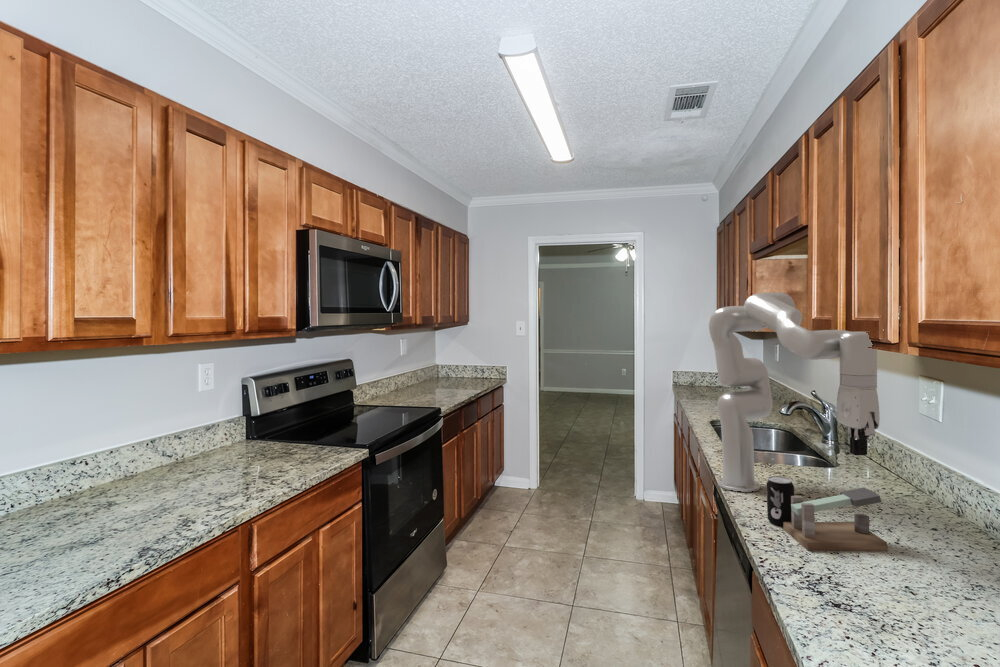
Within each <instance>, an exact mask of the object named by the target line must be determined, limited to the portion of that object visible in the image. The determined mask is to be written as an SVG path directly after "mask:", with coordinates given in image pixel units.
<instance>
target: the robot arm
mask: <svg viewBox="0 0 1000 667" xmlns="http://www.w3.org/2000/svg"><path fill="white" fill-rule="evenodd" d="M802 322H803V314H802V312H801V311H800V310H799V309H798V308H796V304H795V301H794V299H793V298H792V297H791V296H790V295H789V294H787V293H786V292H759V293H758V292H757V293H754V294H752V295H750V296H749V297H747V299H746V300H745V301H744V305H730V306H724V307H720V308H717V309H716V310H714V312H712V314H711V316H710V318H709V322H708V330H709V336H710V338H711V341H712V343H713V347H714V355H715V362H716V368H717V376H718V381H719V382H720V384H721V385H722V386H723V387H726V388H742V387H746V390H737V391H736V390H735V391H729V392H725V393H723V394H721V395H720V397H718V399H717V404H716V406H717V411H718V416H719V421H720V427H721V429H720V430H721V450H722V451H721V452H722V453H721V456H722V458H721V459H722V477H721V478H719V479H718V480H717V484H718V486H719V487H720V488H723V489H724V490H727V491H731V490H733V491H732V492H737V491H741V492H740V493H751V492H752V491H753V492H757V491H759V490H760V489H761V484H760V482H758V481H757V480H755V452H754V451H755V450H754V449H755V448H754V433H753V430H752V428H751V427H750V425H749V422H748V420H755V419H757V420H758V419H763V418H766V417H768V416H770V415H771V413H772V410H773V396H772V390H771V383H770V378H769V371H768V369H767V366H766V365H765V363H764V362H763V361H762V360H760V359H758V358H756V357H745V355H744V351H743V346H742V343H741V341H740V340H739V338H738V337H737V336H736V334H734V333H735V332H736V333H737V332H756V331H762V330H764V329H766V328H768V329H769V330H771V331H773V332H775V333H776V336H777V339H778V340H779V343H780V344H781V345H782V346H783V347H784V348H785V349H786V350H788V351H790V352H792V353H793V354H795V355H797V356H798V357H801V358H802V359H806V360H812V361H815V360H817V361H818V360H827V359H828V360H830V359H831V360H832V359H839V386H838V389H837V395H836V396H837V397H836V406H835V407H836V409H835V410H836V413H835V418H836V419H835V420H836V422H838V423H839V424H842V426H843V427H845V428H846V430H847V435H848V437H849V453H850V454H851V455H853V456H867V455H868V440H869V439H870V436H876V430H877V429H879V427H880V403H879V396H878V390H877V389H878V348H877V349H872V348H868V347H872V345H873V344H872V342H871V340H870V339H869V335H868V333H866V332H867V331H849V330H845V329H844V330H843V329H823V330H821V329H820V330H810V329H807V328H805V327H803V326H801V324H802Z"/></svg>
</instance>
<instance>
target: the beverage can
mask: <svg viewBox="0 0 1000 667" xmlns="http://www.w3.org/2000/svg"><path fill="white" fill-rule="evenodd" d="M767 479H768V480H767V481H766V510H767V511H766V512H767V513H766V514H767V515H766V516H767V520H768V521H769V522H770V524H772V523H773V525H774V524H775V526H778V527H783V522H792V517H791V496H795V485H794V484H793V480H792V479H791V478H789V477H786V476H782V475H781V476H780V475H771V476H768V477H767Z"/></svg>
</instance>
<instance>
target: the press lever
mask: <svg viewBox="0 0 1000 667" xmlns="http://www.w3.org/2000/svg"><path fill="white" fill-rule="evenodd" d="M801 503H812V504H813V505H814V513H816V512H822V511H828V510H832V509H837V508H843V507H846V506H853V507H855V508H857V507H863V506H869V505H874V504H878V503H882V498H881V496H880V494H878V493H876V492H874V491H872V490H870V489H868V488H866V487H864V486H863V487H858V488H854V489H849V490H843V491H839V494H838V495H833V496H827V497H822V498H817V499H813V500H808V501H803V502H801ZM801 503H796V504H791V508H792V511H793V512H795V513H796V514H797V515H802V507H801Z"/></svg>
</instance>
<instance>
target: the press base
mask: <svg viewBox="0 0 1000 667" xmlns="http://www.w3.org/2000/svg"><path fill="white" fill-rule="evenodd" d="M801 502H804V497H803V496H802V495H794V496H791V504H796V503H801ZM801 507H802V515H797V514H796V513H795V512H793V511H792V508H791V517H792V522H783V526H782V527H783V531H785V533H787V534H788V535H789V536H790V535H791V536H792V537H791V536H790V537H791V538H793V539H794V541H796V542H797V543H798V542H799V543H800V544H799V543H798V544H799V545H800V546H802V547H803V548H804V549H805V550H806V551H807V550H808V552H810V551H811V552H812V551H813V552H814V551H815V552H820V551H821V552H822V551H823V552H824V551H825V552H827V551H829V552H831V551H832V552H833V551H834V552H835V551H836V552H845V551H846V552H847V551H848V552H851V551H853V552H856V551H857V552H861V551H862V552H868V551H869V552H880V551H881V552H888V542H887V541H885V539H883V538H882V537H880V536H878V535H876V534H875V533H874V532H872V531H871V530H870V516H869V515H868V514H864V513H854V514H853V518H854V521H815V519H816V518H815V512H814V505H813V504H812V503H801Z"/></svg>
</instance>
